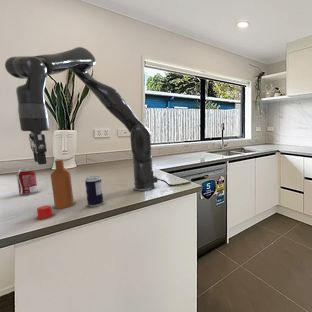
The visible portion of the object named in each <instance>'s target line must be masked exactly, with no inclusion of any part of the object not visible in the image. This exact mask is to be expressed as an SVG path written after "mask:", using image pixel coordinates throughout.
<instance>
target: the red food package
mask: <svg viewBox="0 0 312 312" xmlns="http://www.w3.org/2000/svg"><path fill="white" fill-rule="evenodd" d="M36 175H37V174H36V171H35V170H34V168H24V169H19V170H17V172H16V181H17V187H18V194H19V195H22V196H29V195H34V194H36V193H37V192H39V189H38V181H37V176H36Z"/></svg>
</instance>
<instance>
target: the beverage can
mask: <svg viewBox="0 0 312 312" xmlns="http://www.w3.org/2000/svg"><path fill="white" fill-rule="evenodd" d="M84 185H85V193H86V203H87V205H88V206H90V207H98V206H101V205H102V204H103V203H104V196H103V186H102V178H101V176H100V175H92V176H88V177H87V176H86V177H85V184H84Z"/></svg>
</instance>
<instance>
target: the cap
mask: <svg viewBox="0 0 312 312" xmlns="http://www.w3.org/2000/svg"><path fill="white" fill-rule="evenodd" d="M36 208H37V209H36V213H37V219H38V220H45V219H49V218H51V217H53V209H52V205H49V204H48V205H42V206H38V207H36Z"/></svg>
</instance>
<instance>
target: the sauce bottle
mask: <svg viewBox="0 0 312 312" xmlns="http://www.w3.org/2000/svg"><path fill="white" fill-rule="evenodd" d="M54 163H55V169H54V170H53V171H52V172H51V173H50V181H51V188H52V196H53V197H52V198H53V203H54V208H55V209H66V208H69V207H72V206H74V205H75V203H74V194H73V184H72V177H71V175H72V174H71V172H70V170H68V169H67V168H65V166H64V160H63V159H56V160H54Z"/></svg>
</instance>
